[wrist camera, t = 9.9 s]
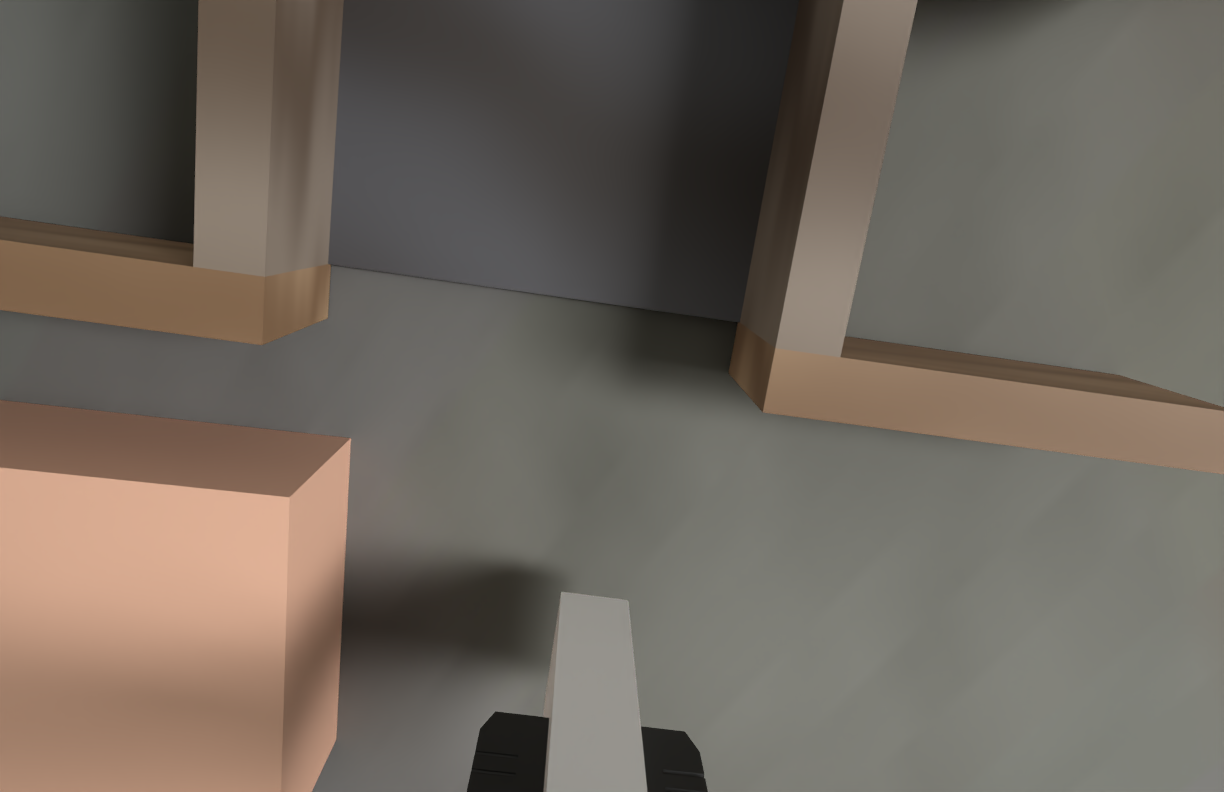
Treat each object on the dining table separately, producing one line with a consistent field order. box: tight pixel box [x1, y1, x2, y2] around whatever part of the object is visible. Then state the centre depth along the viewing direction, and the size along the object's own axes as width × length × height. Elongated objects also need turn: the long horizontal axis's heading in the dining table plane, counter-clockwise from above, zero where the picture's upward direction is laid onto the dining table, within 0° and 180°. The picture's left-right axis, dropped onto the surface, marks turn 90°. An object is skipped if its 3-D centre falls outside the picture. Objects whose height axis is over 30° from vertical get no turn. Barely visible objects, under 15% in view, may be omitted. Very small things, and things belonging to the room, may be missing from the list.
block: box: [0, 400, 351, 792], centre depth 17 cm, size 8×8×4 cm
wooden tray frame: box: [0, 0, 1224, 474], centre depth 16 cm, size 25×30×4 cm
